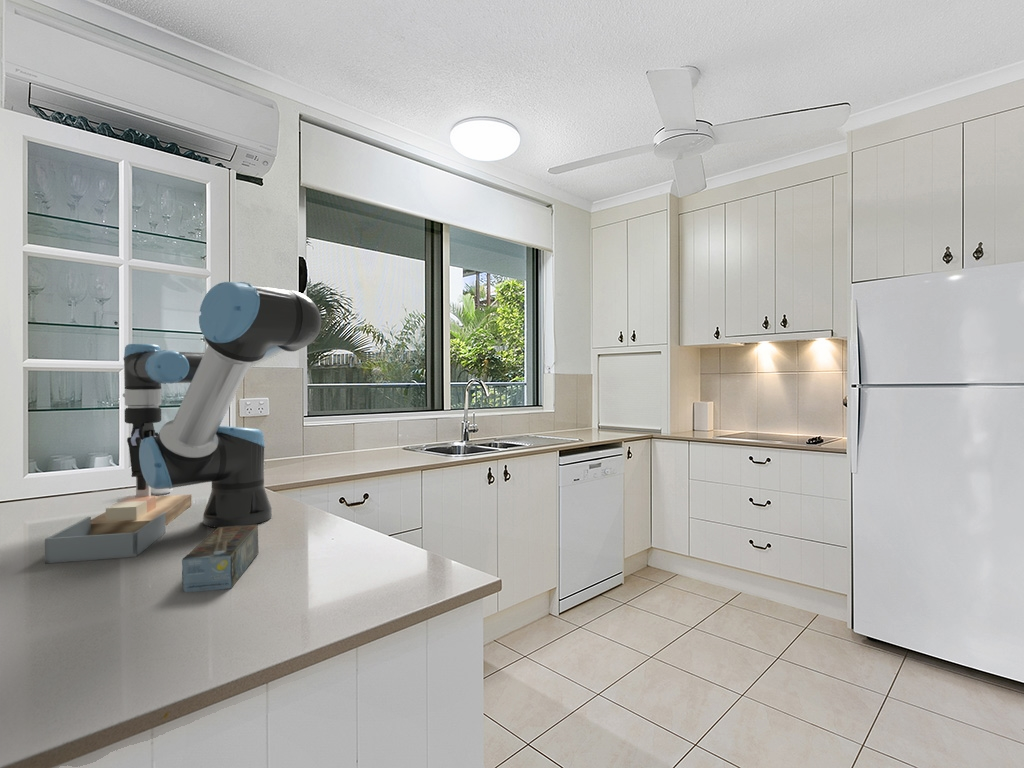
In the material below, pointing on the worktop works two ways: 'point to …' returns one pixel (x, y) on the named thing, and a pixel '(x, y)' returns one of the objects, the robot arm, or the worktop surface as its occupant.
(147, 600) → the worktop surface
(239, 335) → the robot arm
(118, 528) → the oak board
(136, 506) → the sand tile
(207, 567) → the beverage carton
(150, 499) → the terracotta tile
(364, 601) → the worktop surface
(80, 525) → the tray
